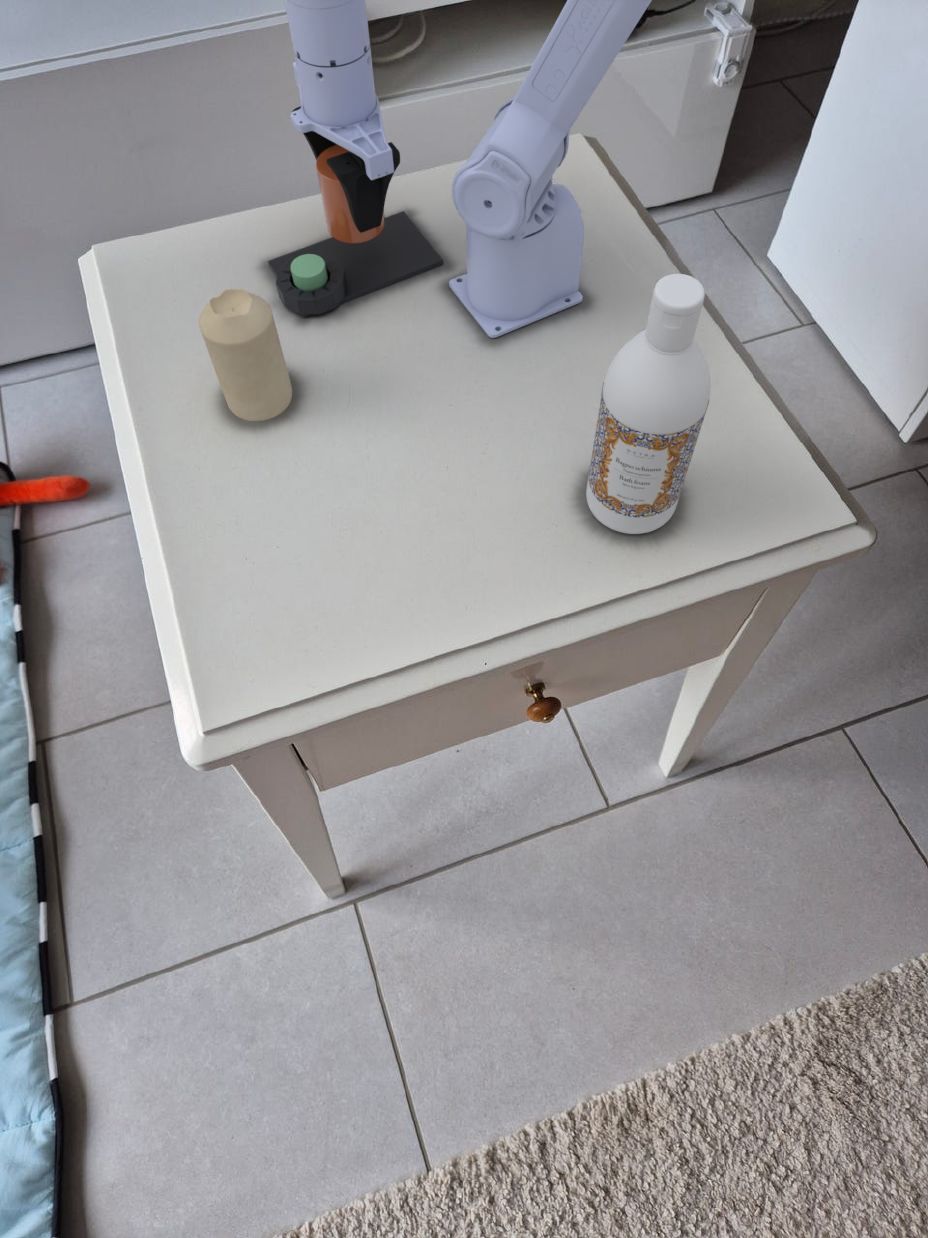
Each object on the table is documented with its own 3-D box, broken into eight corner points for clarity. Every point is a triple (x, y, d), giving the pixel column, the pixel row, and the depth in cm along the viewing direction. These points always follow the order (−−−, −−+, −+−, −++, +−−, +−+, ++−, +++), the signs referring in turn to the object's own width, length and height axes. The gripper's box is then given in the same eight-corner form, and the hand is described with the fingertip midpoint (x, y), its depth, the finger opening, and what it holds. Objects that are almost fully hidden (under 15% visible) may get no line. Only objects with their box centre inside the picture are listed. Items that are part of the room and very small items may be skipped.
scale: (404, 215, 86) (402, 195, 84) (447, 270, 82) (446, 249, 80) (259, 269, 83) (253, 249, 81) (297, 328, 79) (292, 308, 77)
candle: (282, 426, 73) (254, 332, 65) (218, 417, 74) (182, 323, 65) (301, 377, 76) (277, 280, 67) (239, 368, 77) (207, 272, 68)
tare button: (319, 263, 80) (316, 249, 79) (333, 284, 79) (330, 269, 77) (288, 275, 79) (284, 260, 78) (301, 296, 78) (298, 281, 77)
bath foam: (575, 524, 68) (606, 318, 50) (596, 455, 71) (633, 239, 54) (666, 547, 67) (730, 343, 49) (683, 475, 70) (749, 261, 53)
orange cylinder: (369, 198, 82) (361, 135, 76) (395, 231, 79) (388, 168, 74) (317, 217, 81) (305, 154, 75) (341, 250, 78) (331, 188, 73)
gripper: (245, 14, 69) (280, 176, 81) (322, 112, 63) (348, 272, 75) (328, -11, 71) (351, 152, 83) (412, 82, 64) (423, 243, 76)
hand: (354, 207), depth 79 cm, fingers closed on orange cylinder, 5 cm apart
